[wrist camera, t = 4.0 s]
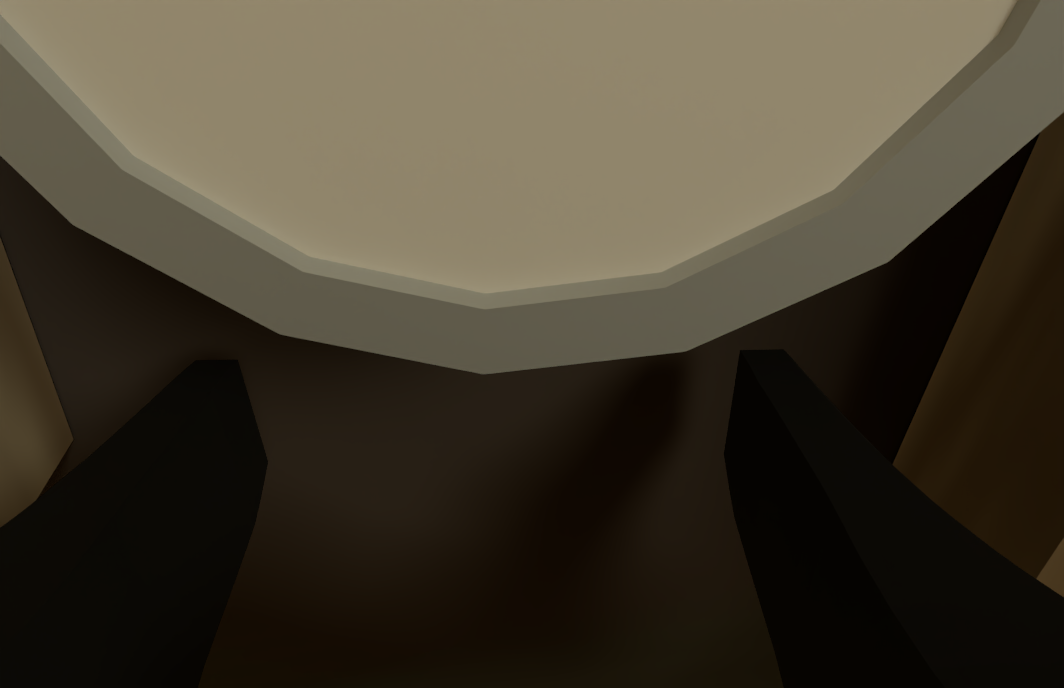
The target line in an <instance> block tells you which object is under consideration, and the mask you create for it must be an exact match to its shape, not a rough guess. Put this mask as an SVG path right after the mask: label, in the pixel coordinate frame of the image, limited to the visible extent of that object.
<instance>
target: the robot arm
mask: <svg viewBox="0 0 1064 688" xmlns="http://www.w3.org/2000/svg"><path fill="white" fill-rule="evenodd" d="M724 457H725V463H726V470H727V476H728V483H729V489H730V495H731V500H732V506H733V512H734V517H735V520H736V524H737V527H738V531H739V534H740V538H741V541H742V545H743V548H744V551H745V555H746V558H747V561H748V565H749V568H750V571H751V575H752V578H753V581H754V585H755V588H756V591H757V595H758V598H759V601H760V604H761V608H762V611H763V614H764V618H765V621H766V624H767V628H768V631H769V634H770V638H771V641H772V644H773V648H774V651H775V654H776V658H777V662H778V666H779V670H780V674H781V678H782V682H783V686H784V688H1064V597H1062V596H1061V595H1059V594H1058V593H1056V592H1055V591H1053V590H1052V589H1051V588H1049V587H1048V586H1046V585H1045V584H1043V583H1042V582H1040V581H1039V580H1037V579H1036V578H1034V577H1033V576H1031V575H1030V574H1028V573H1027V572H1025V571H1024V570H1022V569H1021V568H1019V567H1018V566H1016V565H1015V564H1014V563H1012V562H1011V561H1009V560H1008V559H1007V558H1005V557H1004V556H1002V555H1001V554H1000V553H998V552H997V551H996V550H994V549H993V548H991V547H990V546H989V545H988V544H986V543H985V542H984V541H982V540H981V539H980V538H979V537H977V536H976V535H975V534H973V533H972V532H971V531H970V530H968V529H967V528H966V527H964V526H963V525H962V524H961V523H959V522H958V521H957V520H955V519H954V518H953V517H952V516H950V515H949V514H948V513H947V512H946V511H944V510H943V509H942V508H941V507H939V506H938V505H937V504H936V503H935V502H933V501H932V500H931V499H930V498H929V497H928V496H927V495H925V494H924V493H923V492H922V491H921V490H920V489H919V488H918V487H917V486H915V485H914V484H913V483H912V482H911V481H910V480H909V479H908V478H907V477H905V476H904V475H903V474H902V473H901V472H900V471H899V470H898V469H897V468H896V467H895V466H893V465H892V464H891V463H890V462H889V461H888V460H887V459H886V458H885V457H884V456H883V455H882V454H881V453H880V452H879V451H878V450H877V449H876V448H875V447H874V446H873V445H872V444H871V443H870V442H869V441H868V440H867V439H866V438H865V437H864V436H863V435H862V434H861V433H860V432H859V431H858V430H857V429H856V428H855V427H854V426H853V425H852V424H851V423H850V421H849V420H848V419H847V418H846V417H845V416H844V415H843V414H842V413H841V412H840V411H839V410H838V409H837V408H836V407H835V405H834V404H833V403H832V402H831V401H830V400H829V399H828V398H827V397H826V396H825V395H824V393H823V392H822V391H821V390H820V389H819V388H818V387H817V386H816V385H815V384H814V382H813V381H812V380H811V379H810V378H809V377H808V376H807V375H806V374H805V372H804V371H803V370H802V369H801V368H800V367H799V366H798V365H797V364H796V362H795V361H794V360H793V359H792V358H791V357H790V356H789V355H788V354H787V353H786V352H785V351H784V350H783V349H782V350H740V355H739V361H738V368H737V374H736V380H735V387H734V393H733V400H732V406H731V412H730V419H729V425H728V432H727V438H726V444H725V451H724ZM267 464H268V460H267V457H266V453H265V450H264V447H263V443H262V440H261V437H260V433H259V430H258V426H257V423H256V420H255V416H254V413H253V410H252V406H251V403H250V400H249V396H248V393H247V390H246V386H245V383H244V380H243V376H242V373H241V369H240V366H239V363H238V360H198V361H195V362H193V363H192V364H191V365H190V366H189V367H188V368H186V369H185V370H184V371H183V372H182V373H181V374H180V375H178V376H177V377H176V378H175V379H174V380H173V381H172V382H171V383H170V384H168V385H167V386H166V387H165V388H164V389H163V390H162V391H161V392H160V393H159V394H158V395H157V396H155V397H154V398H153V399H152V400H151V401H150V402H149V403H148V404H147V405H146V406H145V407H144V408H142V409H141V410H140V411H139V412H138V413H137V414H136V415H135V416H134V417H133V418H132V419H130V420H129V421H128V422H127V423H126V424H125V425H124V426H123V427H122V428H120V429H119V430H118V431H117V432H116V433H115V434H114V435H113V436H112V437H110V438H109V439H108V440H107V441H106V442H105V443H104V444H103V445H102V446H100V447H99V448H98V449H97V450H96V451H95V452H94V453H93V454H91V455H90V456H89V457H88V458H87V459H85V460H84V461H83V462H82V463H81V464H79V465H78V466H77V467H76V468H75V469H73V470H72V471H71V472H70V473H68V474H67V475H66V476H65V477H64V478H62V479H61V480H60V481H59V482H58V483H56V484H55V485H54V486H53V487H51V488H50V489H49V490H48V491H47V492H45V493H44V494H43V495H42V496H41V497H39V498H38V499H37V500H36V501H34V502H33V503H32V504H31V505H30V506H28V507H27V508H26V509H24V510H23V511H22V512H20V513H19V514H18V515H17V516H15V517H14V518H13V519H11V520H10V521H8V522H7V523H6V524H4V525H3V526H2V527H0V688H197V687H198V684H199V681H200V678H201V675H202V672H203V668H204V665H205V662H206V659H207V656H208V654H209V651H210V648H211V645H212V643H213V640H214V637H215V634H216V632H217V629H218V626H219V623H220V621H221V618H222V615H223V612H224V610H225V607H226V604H227V601H228V599H229V596H230V593H231V590H232V588H233V585H234V582H235V579H236V577H237V574H238V571H239V568H240V565H241V562H242V560H243V557H244V554H245V551H246V548H247V546H248V543H249V540H250V537H251V534H252V531H253V528H254V525H255V521H256V517H257V513H258V508H259V504H260V499H261V495H262V490H263V485H264V479H265V474H266V469H267Z"/></svg>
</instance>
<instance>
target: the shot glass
mask: <svg viewBox="0 0 1064 688" xmlns="http://www.w3.org/2000/svg"><path fill="white" fill-rule="evenodd" d="M1063 112H1064V0H0V156H1V157H2V158H3V159H5V160H6V161H7V162H8V163H9V164H10V165H11V166H12V167H13V168H14V169H15V170H16V171H17V172H18V173H19V174H20V175H21V176H22V177H23V178H24V179H25V180H26V181H28V182H29V183H30V184H31V185H32V186H33V187H34V188H35V189H36V190H37V191H38V192H39V193H40V194H41V195H42V196H43V197H44V198H45V199H46V200H47V201H48V202H49V203H51V204H52V205H53V206H54V207H55V208H56V209H57V210H58V211H59V212H60V213H61V214H62V215H63V216H64V217H65V218H66V219H67V220H68V221H69V222H70V223H71V224H72V225H74V226H76V227H78V228H80V229H82V230H84V231H85V232H87V233H89V234H91V235H93V236H95V237H97V238H99V239H101V240H102V241H104V242H106V243H108V244H110V245H112V246H114V247H116V248H118V249H119V250H121V251H123V252H125V253H127V254H129V255H131V256H133V257H135V258H136V259H138V260H140V261H142V262H144V263H146V264H148V265H150V266H152V267H153V268H155V269H157V270H159V271H161V272H163V273H165V274H167V275H169V276H170V277H172V278H174V279H176V280H178V281H180V282H182V283H184V284H186V285H187V286H189V287H191V288H193V289H195V290H197V291H199V292H201V293H203V294H204V295H206V296H208V297H210V298H212V299H214V300H216V301H218V302H220V303H221V304H223V305H225V306H227V307H229V308H231V309H233V310H235V311H237V312H238V313H240V314H242V315H244V316H246V317H248V318H250V319H252V320H254V321H255V322H257V323H259V324H261V325H263V326H265V327H267V328H269V329H271V330H272V331H274V332H276V333H278V334H280V335H285V336H290V337H295V338H300V339H305V340H310V341H316V342H321V343H326V344H331V345H336V346H341V347H346V348H351V349H357V350H362V351H367V352H372V353H377V354H382V355H387V356H392V357H397V358H403V359H408V360H413V361H418V362H423V363H428V364H433V365H438V366H444V367H449V368H454V369H459V370H464V371H469V372H474V373H479V374H491V373H500V372H509V371H517V370H526V369H535V368H544V367H553V366H562V365H571V364H580V363H588V362H597V361H606V360H615V359H624V358H633V357H642V356H651V355H659V354H668V353H677V352H686V351H688V350H690V349H692V348H695V347H697V346H699V345H701V344H704V343H706V342H708V341H711V340H713V339H715V338H717V337H720V336H722V335H724V334H726V333H729V332H731V331H733V330H735V329H738V328H740V327H742V326H744V325H747V324H749V323H751V322H754V321H756V320H758V319H760V318H763V317H765V316H767V315H769V314H772V313H774V312H776V311H778V310H781V309H783V308H785V307H787V306H790V305H792V304H794V303H797V302H799V301H801V300H803V299H806V298H808V297H810V296H812V295H815V294H817V293H819V292H821V291H824V290H826V289H828V288H830V287H833V286H835V285H837V284H840V283H842V282H844V281H846V280H849V279H851V278H853V277H855V276H858V275H860V274H862V273H864V272H867V271H869V270H871V269H873V268H876V267H878V266H880V265H883V264H885V263H887V262H889V261H890V260H891V259H892V258H893V257H895V256H896V255H897V254H898V253H899V252H900V251H902V250H903V249H904V248H905V247H906V246H907V245H909V244H910V243H911V242H912V241H913V240H915V239H916V238H917V237H918V236H919V235H920V234H922V233H923V232H924V231H925V230H926V229H927V228H929V227H930V226H931V225H932V224H933V223H934V222H936V221H937V220H938V219H939V218H940V217H941V216H943V215H944V214H945V213H946V212H947V211H948V210H950V209H951V208H952V207H953V206H954V205H955V204H957V203H958V202H959V201H960V200H961V199H962V198H964V197H965V196H966V195H967V194H968V193H969V192H971V191H972V190H973V189H974V188H975V187H977V186H978V185H979V184H980V183H981V182H982V181H984V180H985V179H986V178H987V177H988V176H989V175H991V174H992V173H993V172H994V171H995V170H996V169H998V168H999V167H1000V166H1001V165H1002V164H1003V163H1005V162H1006V161H1007V160H1008V159H1009V158H1010V157H1012V156H1013V155H1014V154H1015V153H1016V152H1017V151H1019V150H1020V149H1021V148H1022V147H1023V146H1024V145H1026V144H1027V143H1028V142H1029V141H1030V140H1031V139H1033V138H1034V137H1035V136H1036V135H1037V134H1039V133H1040V132H1041V131H1042V130H1043V129H1044V128H1046V127H1047V126H1048V125H1049V124H1050V123H1051V122H1053V121H1054V120H1055V119H1056V118H1057V117H1058V116H1060V115H1061V114H1062V113H1063Z"/></svg>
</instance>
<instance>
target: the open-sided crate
mask: <svg viewBox="0 0 1064 688" xmlns="http://www.w3.org/2000/svg"><path fill="white" fill-rule="evenodd" d="M73 440H74V439H73V436H72V433H71V431H70V428H69V425H68V422H67V420H66V417H65V414H64V411H63V409H62V406H61V403H60V400H59V398H58V395H57V392H56V389H55V387H54V384H53V381H52V378H51V376H50V373H49V370H48V367H47V365H46V362H45V359H44V356H43V354H42V351H41V348H40V345H39V343H38V340H37V337H36V334H35V332H34V329H33V326H32V323H31V321H30V318H29V315H28V312H27V310H26V307H25V304H24V301H23V299H22V296H21V293H20V290H19V288H18V285H17V282H16V279H15V277H14V274H13V271H12V268H11V265H10V263H9V260H8V257H7V254H6V252H5V249H4V246H3V243H2V241H1V238H0V527H2V526H3V525H4V524H6V523H7V522H8V521H10V520H11V519H13V518H14V517H15V516H17V515H18V514H19V513H20V512H22V511H23V510H24V509H26V508H27V507H28V506H30V505H31V504H32V503H33V502H34V501H36V500H37V498H38V496H39V495H40V493H41V491H42V490H43V488H44V487H45V485H46V483H47V482H48V480H49V478H50V477H51V475H52V474H53V472H54V470H55V469H56V467H57V466H58V464H59V462H60V461H61V459H62V457H63V456H64V454H65V453H66V451H67V449H68V448H69V446H70V444H71V443H72V441H73ZM892 465H893V466H895V467H896V468H897V469H898V470H899V471H900V472H901V473H902V474H903V475H904V476H905V477H907V478H908V479H909V480H910V481H911V482H912V483H913V484H914V485H915V486H917V487H918V488H919V489H920V490H921V491H922V492H923V493H924V494H925V495H927V496H928V497H929V498H930V499H931V500H932V501H933V502H935V503H936V504H937V505H938V506H939V507H941V508H942V509H943V510H944V511H946V512H947V513H948V514H949V515H950V516H952V517H953V518H954V519H955V520H957V521H958V522H959V523H961V524H962V525H963V526H964V527H966V528H967V529H968V530H970V531H971V532H972V533H973V534H975V535H976V536H977V537H979V538H980V539H981V540H982V541H984V542H985V543H986V544H988V545H989V546H990V547H991V548H993V549H994V550H996V551H997V552H998V553H1000V554H1001V555H1002V556H1004V557H1005V558H1007V559H1008V560H1009V561H1011V562H1012V563H1014V564H1015V565H1016V566H1018V567H1019V568H1021V569H1022V570H1024V571H1025V572H1027V573H1028V574H1030V575H1031V576H1033V577H1034V578H1036V579H1037V580H1039V581H1040V582H1042V583H1043V584H1045V585H1046V586H1048V587H1049V588H1051V589H1052V590H1053V591H1055V592H1056V593H1058V594H1059V595H1061V596H1062V597H1064V112H1063V113H1062V114H1061V115H1060V116H1058V117H1057V118H1056V119H1055V120H1054V121H1053V122H1051V123H1050V124H1049V125H1048V126H1047V127H1046V128H1044V129H1043V130H1042V131H1041V132H1040V135H1039V137H1038V139H1037V141H1036V144H1035V146H1034V148H1033V150H1032V153H1031V155H1030V157H1029V159H1028V161H1027V164H1026V166H1025V168H1024V170H1023V173H1022V175H1021V177H1020V179H1019V182H1018V184H1017V186H1016V188H1015V191H1014V193H1013V195H1012V197H1011V200H1010V202H1009V204H1008V206H1007V209H1006V211H1005V213H1004V215H1003V218H1002V220H1001V222H1000V224H999V226H998V229H997V231H996V233H995V235H994V238H993V240H992V242H991V244H990V247H989V249H988V251H987V253H986V256H985V258H984V260H983V262H982V265H981V267H980V269H979V271H978V274H977V276H976V278H975V280H974V283H973V285H972V287H971V289H970V292H969V294H968V296H967V298H966V300H965V303H964V305H963V307H962V309H961V312H960V314H959V316H958V318H957V321H956V323H955V325H954V327H953V330H952V332H951V334H950V336H949V339H948V341H947V343H946V345H945V348H944V350H943V352H942V354H941V357H940V359H939V361H938V363H937V366H936V368H935V370H934V372H933V374H932V377H931V379H930V381H929V383H928V386H927V388H926V390H925V392H924V395H923V397H922V399H921V401H920V404H919V406H918V408H917V410H916V413H915V415H914V417H913V419H912V422H911V424H910V426H909V428H908V431H907V433H906V435H905V437H904V439H903V442H902V444H901V446H900V448H899V451H898V453H897V455H896V457H895V460H894V462H893V464H892Z"/></svg>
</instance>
